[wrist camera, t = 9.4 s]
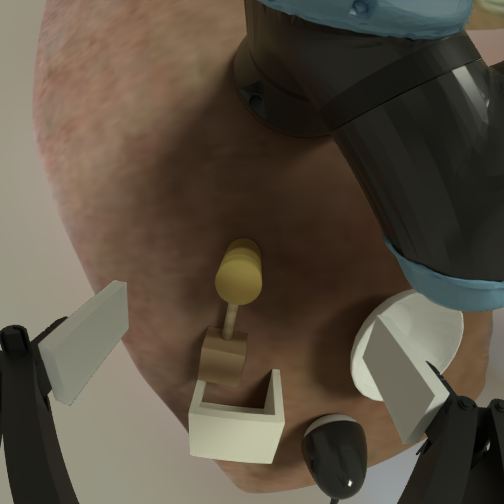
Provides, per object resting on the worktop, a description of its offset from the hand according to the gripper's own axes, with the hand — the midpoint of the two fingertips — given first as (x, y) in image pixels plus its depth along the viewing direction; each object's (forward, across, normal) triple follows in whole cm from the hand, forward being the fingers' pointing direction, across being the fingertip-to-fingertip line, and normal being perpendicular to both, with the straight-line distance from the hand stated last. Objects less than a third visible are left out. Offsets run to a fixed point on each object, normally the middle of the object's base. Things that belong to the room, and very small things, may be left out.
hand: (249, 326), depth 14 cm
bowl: (+20, +20, -9) cm, 29 cm away
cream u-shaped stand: (+19, 0, -22) cm, 29 cm away
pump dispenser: (+19, +16, -29) cm, 39 cm away
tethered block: (+19, -2, -8) cm, 21 cm away
